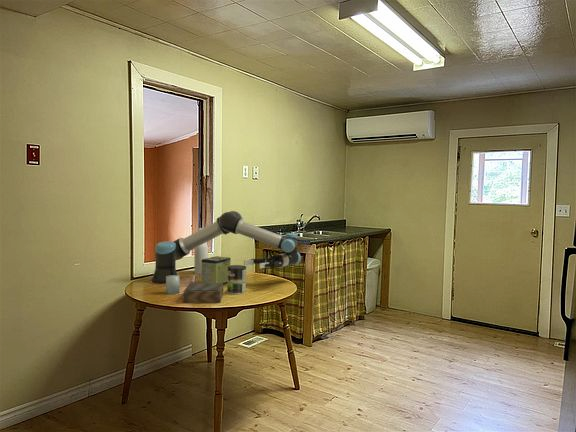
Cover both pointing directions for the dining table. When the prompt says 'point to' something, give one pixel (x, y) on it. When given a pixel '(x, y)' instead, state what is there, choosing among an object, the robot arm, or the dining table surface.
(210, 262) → the protein box
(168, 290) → the pale glossy cylinder
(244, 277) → the coffee can
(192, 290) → the podium
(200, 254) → the alcohol
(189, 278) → the dining table surface
